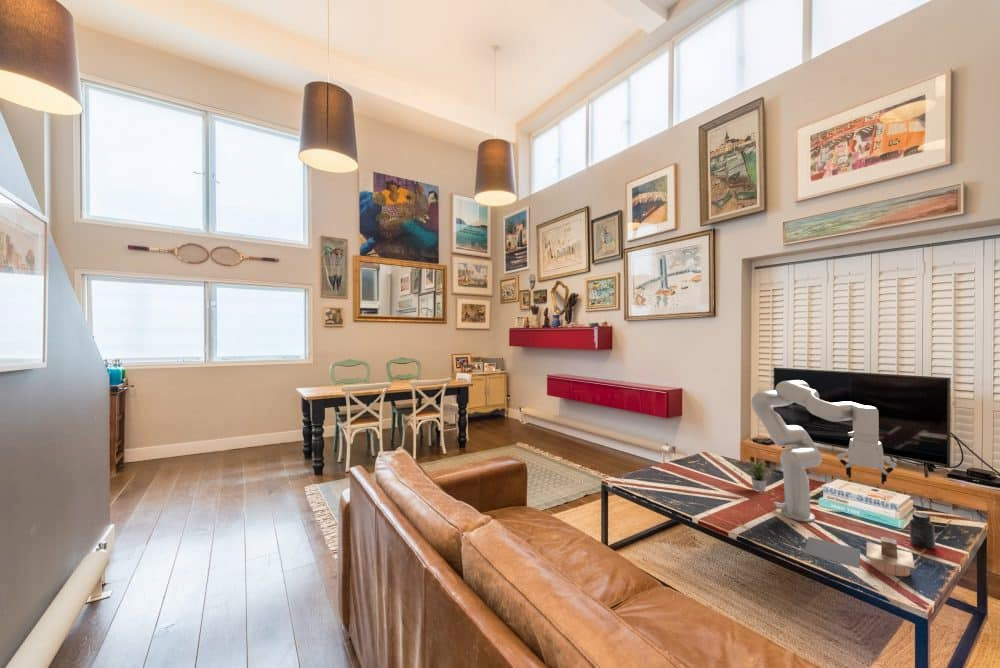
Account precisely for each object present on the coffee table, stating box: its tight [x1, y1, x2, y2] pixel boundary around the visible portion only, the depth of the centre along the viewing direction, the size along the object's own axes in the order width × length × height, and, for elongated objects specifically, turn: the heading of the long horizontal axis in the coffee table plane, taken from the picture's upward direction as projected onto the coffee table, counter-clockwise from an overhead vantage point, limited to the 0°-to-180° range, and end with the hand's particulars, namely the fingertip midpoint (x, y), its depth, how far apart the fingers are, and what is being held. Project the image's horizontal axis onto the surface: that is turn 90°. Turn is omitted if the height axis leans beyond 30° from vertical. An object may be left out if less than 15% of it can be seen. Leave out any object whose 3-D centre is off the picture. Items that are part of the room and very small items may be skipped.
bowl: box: [870, 559, 911, 577], centre depth 142 cm, size 10×10×5 cm
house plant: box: [744, 458, 773, 491], centre depth 217 cm, size 14×14×16 cm
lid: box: [866, 536, 916, 571], centre depth 142 cm, size 12×12×6 cm
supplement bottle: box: [909, 511, 936, 550], centre depth 157 cm, size 7×7×12 cm
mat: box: [803, 536, 861, 569], centre depth 154 cm, size 16×16×1 cm
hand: (865, 479), depth 157 cm, fingers open, 9 cm apart
